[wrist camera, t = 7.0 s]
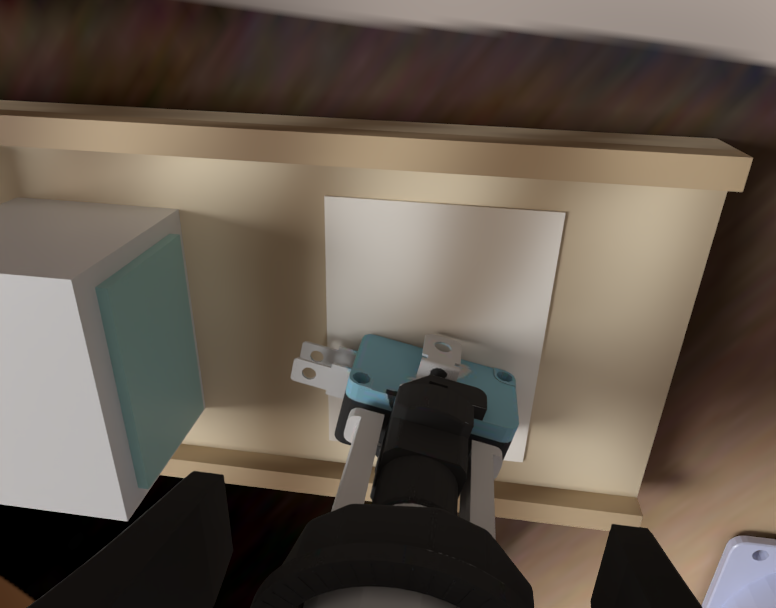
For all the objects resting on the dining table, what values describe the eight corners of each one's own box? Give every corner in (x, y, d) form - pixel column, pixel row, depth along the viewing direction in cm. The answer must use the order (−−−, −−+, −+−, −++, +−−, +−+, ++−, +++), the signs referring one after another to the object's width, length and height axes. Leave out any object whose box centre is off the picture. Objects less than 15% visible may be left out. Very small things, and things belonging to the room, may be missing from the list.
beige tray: (716, 138, 15) (785, 175, 12) (621, 483, 21) (650, 577, 17) (-45, 97, 18) (-171, 118, 14) (46, 416, 23) (-29, 487, 20)
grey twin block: (188, 209, 17) (84, 281, 12) (214, 408, 20) (138, 522, 15) (17, 196, 17) (-141, 260, 13) (68, 392, 20) (-45, 498, 16)
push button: (293, 405, 19) (135, 745, 10) (322, 263, 17) (145, 551, 8) (488, 461, 19) (495, 850, 10) (547, 326, 17) (621, 689, 8)
